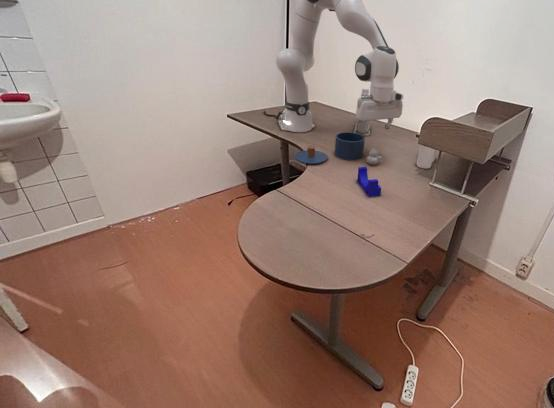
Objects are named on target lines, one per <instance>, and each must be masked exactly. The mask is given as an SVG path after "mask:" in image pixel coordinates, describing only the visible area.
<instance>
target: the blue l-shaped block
mask: <svg viewBox="0 0 554 408" xmlns="http://www.w3.org/2000/svg"><path fill="white" fill-rule="evenodd" d="M356 181H357V183H358V184H359V186H360V187H361V188H362V190H363V191H364V193H365V194H366V196H367V197H368V198H372V197H379V196H381V195H382V187H381V186H380V184H379V180H378V179H377V178H374V179H369V176H368V167H367V166H358V168H357V180H356Z"/></svg>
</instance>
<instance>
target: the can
mask: <svg viewBox="0 0 554 408" xmlns="http://www.w3.org/2000/svg"><path fill="white" fill-rule="evenodd" d="M434 151H435V150H434V149H431V148H428V147H424V146H421V145H420V144H419V149H418V154H417V159H416V167H418V168H419V169H422V170H429V169H430V168H431V167H432V165H433V162H432V160H433V155H434Z"/></svg>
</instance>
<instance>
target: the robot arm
mask: <svg viewBox="0 0 554 408" xmlns="http://www.w3.org/2000/svg"><path fill="white" fill-rule="evenodd" d="M325 10H328V11H329V12H334V13H336V18H337V20H338V22H339V24H340V26H341V27H342V28H343V29H344V30H346V31H348V32H349V33H353V34H355V35H357V36H360V37H362V38H363V39H365V40H366V41H367V42H369V44H370V47H371V49H372V51H370V52H368V53H366V54H361V55H359V56H358V58H357V59H356V61H355V64H354V72H355V75H356V77H357V79H358V80H359V81H361V82H370V87H369V95H367V96H361V95H360V97H359V98H358V99H357V103H356V104H357V106H356V111H355V119H356V120H357V121H358V122H359V121H361V122H362V121H364V124H365V126H366V128H365V130H366V131H365V132H367V133H368V132H369V131H370V132H372V126H371V125H370V126H369V124H370V122H371V121H382V120H387V121H386V123H384V129H385V130H390V129H391V125H392V124H393V122H394V119H399V118H400V117H401V116H402V114H403V106H404V104H403V101H402V100H404V94H403V93H400V92H398V91H396V90H394V89H395V85H394V81H395V79H396V77H397V75H398V74H399V70H400V69H399V68H400V66H399V62H398V59H397V53H396V50H394V49H393V48H392V47H389V45H388V43H387V40H386V39H385V36H384V35H383V32H382V30H381V28H380V27H379V24H378V22H377V21H376V20H375V19H374V18H373V17H372V15H371V14H370V13H369V11H368V10H367V8H366V7H365V5H364V2H363V0H298V1H297V4H296V7H295V11H294V15H293V19H292V23H291V28H290V33H291V36H292V46H291V48H284V49H282V50H280V51H279V52H278V53H277V55H276V57H275V65H276V67H277V69H278V70H279V71H280V73H281V74H282V77H283V81H284V85H285V93H286V94H285V95H286V96H285V97H286V101H285V105H284V106H285V109H284V110H281V111H278V113H277V114H270V113H269V114H268V113H266V112H267V111H266V110H264V111H263V114H264V115H265V116H268V117H275V118H276V119H277V120H278V119H279V120H278V121H277V122H278V125H279V128H280V130H281V131H286V132H291V133H306V132H310V131H312V130H313V129H314V128H315V127H316V126H315V124H313V112H312V111H310V101H309V85H308V84H307V82H306V79H305V76H304V73H305V72H307V71H310V69H312V68H313V67H314V65H315V61H316V58H315V55H314V51H315V50H314V49H315V39H316V36H317V32H318V28H319V25H320V21H321V16H322V13H323V12H324V11H325ZM360 98H361V99H360Z"/></svg>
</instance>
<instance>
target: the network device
mask: <svg viewBox="0 0 554 408" xmlns="http://www.w3.org/2000/svg"><path fill="white" fill-rule="evenodd" d="M367 95H370V89H366V88H362V89H361V94H360V97H361V96H367ZM360 97H359V98H360ZM360 99H361V98H360ZM368 125H369V124H368ZM369 126H370V127H371V125H369ZM365 129H366V126H365V124H364V121H362V122H361V121H359V120H358V123H356V124H355V126H354V129H353V133H358V134H361V135H363V136H364V137H368V136H371V131H369V132H367V131H366V130H365ZM366 132H367V133H366Z"/></svg>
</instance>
